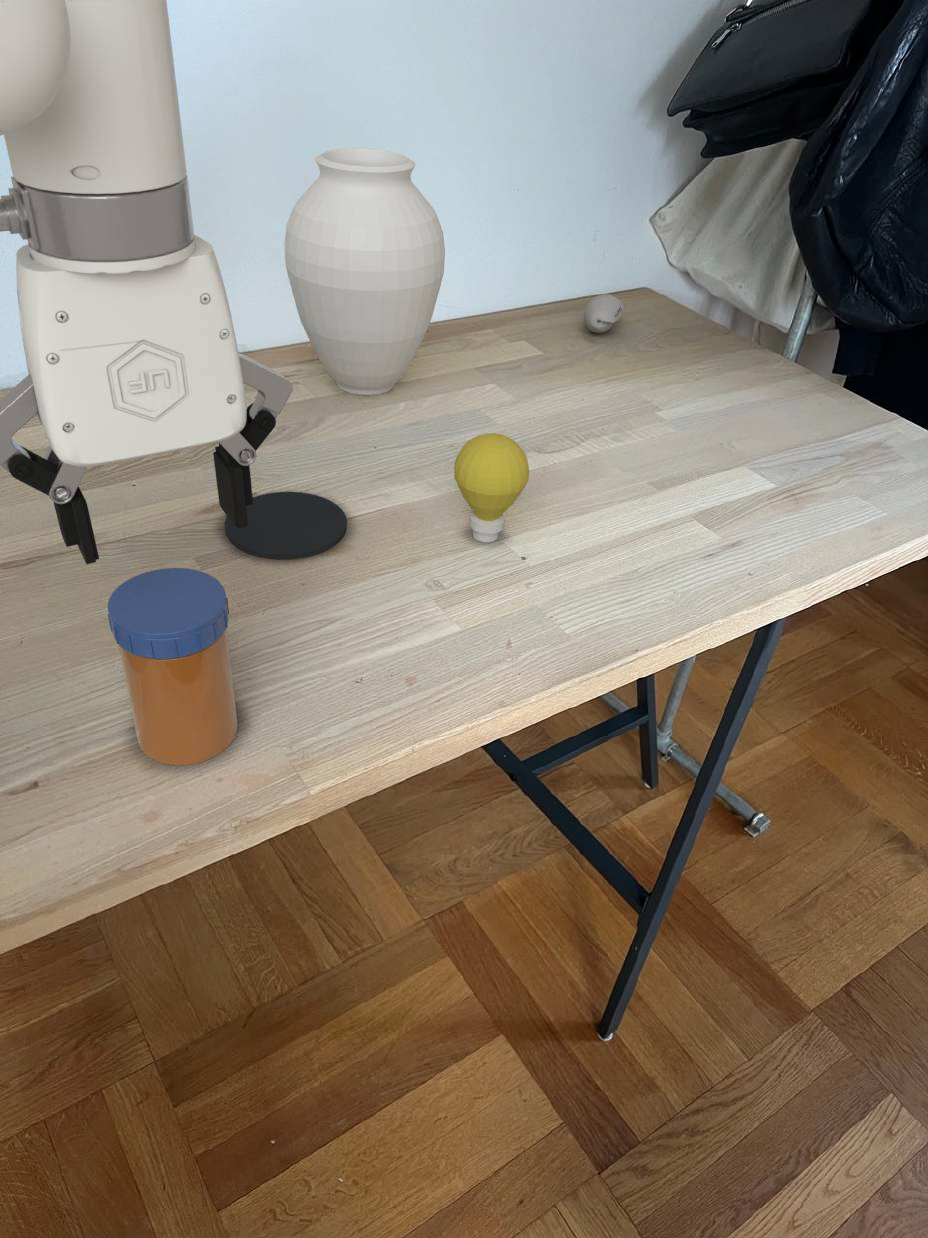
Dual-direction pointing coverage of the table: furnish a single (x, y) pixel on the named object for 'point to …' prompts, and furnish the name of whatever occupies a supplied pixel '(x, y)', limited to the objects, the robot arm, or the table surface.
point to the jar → (182, 704)
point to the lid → (168, 613)
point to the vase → (364, 266)
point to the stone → (602, 313)
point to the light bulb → (490, 481)
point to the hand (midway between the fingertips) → (162, 532)
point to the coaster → (288, 526)
